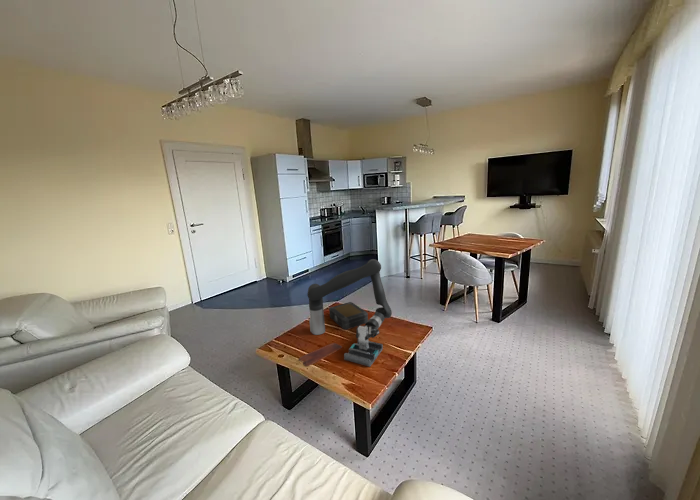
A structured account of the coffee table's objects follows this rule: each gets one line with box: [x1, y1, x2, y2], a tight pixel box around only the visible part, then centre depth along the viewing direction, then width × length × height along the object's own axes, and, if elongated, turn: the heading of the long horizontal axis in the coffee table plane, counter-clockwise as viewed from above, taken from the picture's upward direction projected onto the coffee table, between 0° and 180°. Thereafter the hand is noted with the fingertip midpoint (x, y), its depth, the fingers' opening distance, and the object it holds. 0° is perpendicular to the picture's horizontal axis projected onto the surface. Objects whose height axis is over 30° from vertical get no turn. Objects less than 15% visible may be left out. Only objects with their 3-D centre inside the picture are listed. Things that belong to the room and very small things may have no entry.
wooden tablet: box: [298, 342, 343, 367], centre depth 169 cm, size 27×10×2 cm, turn 130°
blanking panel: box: [357, 325, 370, 350], centre depth 163 cm, size 5×2×13 cm, turn 61°
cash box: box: [328, 301, 369, 330], centre depth 208 cm, size 25×20×8 cm
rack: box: [343, 338, 384, 368], centre depth 165 cm, size 16×18×4 cm
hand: (361, 337), depth 160 cm, fingers closed on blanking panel, 5 cm apart
